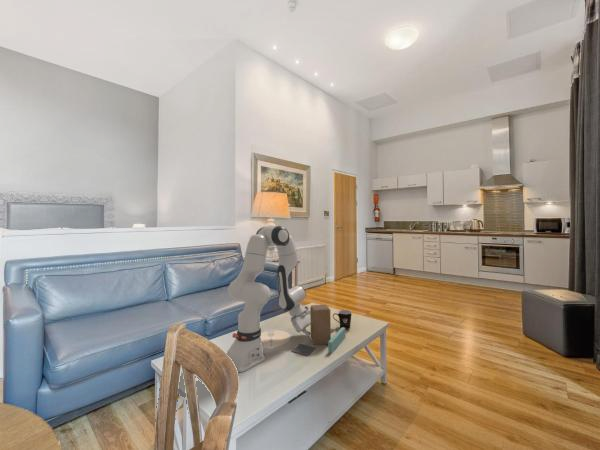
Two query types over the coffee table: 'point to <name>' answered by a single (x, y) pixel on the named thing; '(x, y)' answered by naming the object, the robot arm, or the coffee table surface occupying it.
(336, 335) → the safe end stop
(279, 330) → the coffee table surface
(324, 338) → the block
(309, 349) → the mats
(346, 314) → the coffee mug
